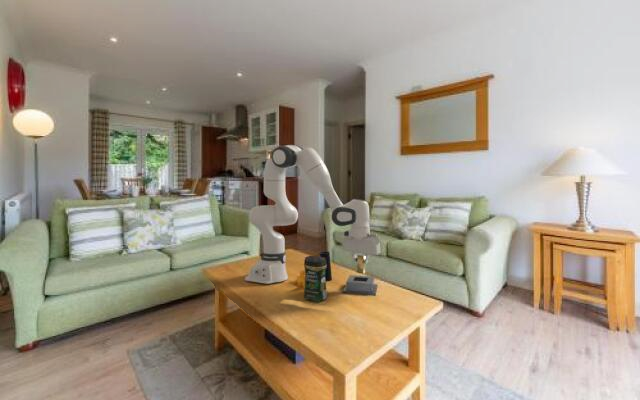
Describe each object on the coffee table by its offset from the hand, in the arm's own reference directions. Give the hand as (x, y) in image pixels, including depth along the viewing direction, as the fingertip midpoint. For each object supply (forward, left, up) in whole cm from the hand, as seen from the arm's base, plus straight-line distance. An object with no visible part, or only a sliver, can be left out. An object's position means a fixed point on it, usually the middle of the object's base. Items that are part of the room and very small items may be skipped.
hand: (360, 262), depth 135 cm
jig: (0, +1, -13) cm, 13 cm away
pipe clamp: (-29, 0, -14) cm, 32 cm away
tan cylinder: (0, 0, -5) cm, 5 cm away
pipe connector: (-21, +8, -14) cm, 26 cm away
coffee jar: (-18, -17, -13) cm, 28 cm away
